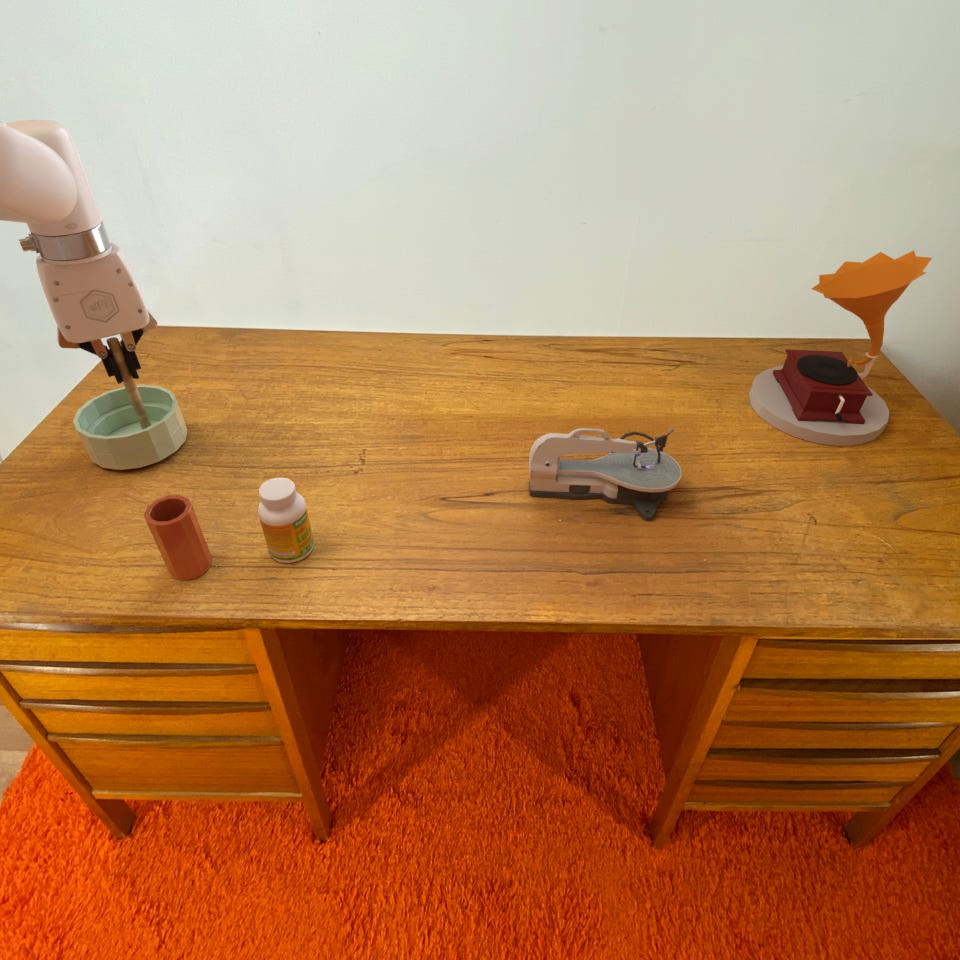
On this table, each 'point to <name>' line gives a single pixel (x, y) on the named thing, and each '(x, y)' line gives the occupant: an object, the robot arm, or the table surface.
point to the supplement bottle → (284, 521)
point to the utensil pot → (178, 537)
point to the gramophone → (838, 361)
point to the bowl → (130, 428)
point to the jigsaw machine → (603, 469)
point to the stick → (129, 382)
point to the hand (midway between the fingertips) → (126, 376)
